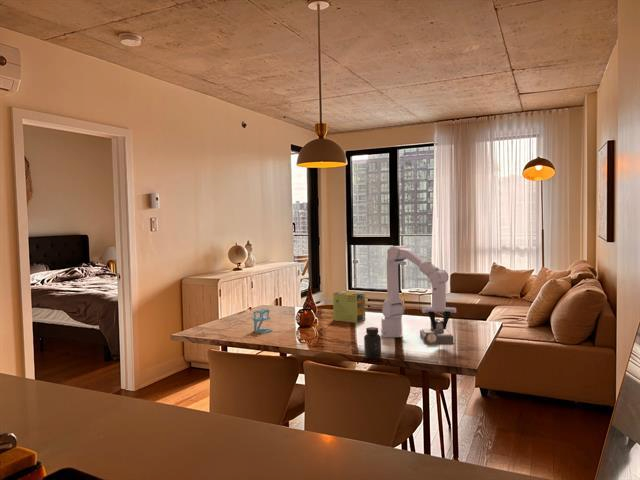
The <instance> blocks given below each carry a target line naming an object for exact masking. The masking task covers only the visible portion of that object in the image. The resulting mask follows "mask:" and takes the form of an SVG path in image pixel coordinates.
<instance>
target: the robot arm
mask: <svg viewBox="0 0 640 480" xmlns="http://www.w3.org/2000/svg"><path fill="white" fill-rule="evenodd" d="M386 251H387V253H386V255H387V257H386V283H387V284H386V287H387V288H386V289H387V294H386V295H387V297H386V298H385V300H384V301H383V304H382V309H381V312H382V315H383V316H384V317H381V330H380V334H381V335H382V336H381V337H382V338H403V334H402V320H401V319H402V317H403V314H404V313H405V306H404V304H403V299H401V298H400V289H399V281H400V280H399V265H400V264H401V263H402V262H403V261H405V260H408V261H409V262H411V263H413V264H414V265H416V266H417V267H418V269H419V271H420V272H421V273H422V274H423V275H425V276H426V277H427V278H428V279H429V282H430V285H431V290H432V291H431V292H432V294H431V296H432V297H431V298H432V300H431V301H432V302H431V303H432V304H431V305H432V306H431V307H430V306H428V307H422V308H421V312H422V313H423V314H426V313H427V315H428V317H429V319H430V323H431V322H432V327H433V329H435V319H436V315H435V313H442V316H443V317H442V321H444V329H446V330H447V325H448V322H449V319H450V318H451V316H452V315H451V313H453V314H456V313H457V308H456V307H449V306H446V305H447V304H446V303H447V297H446V296H447V293H446V292H447V291H446V289H447V287H446V286H447V285H446V283H447V282H448V281H449V273H448V272H447V271H446V270H444V269H440V268H439V267H437V266H435V265H434V264H433V263H432V261H431V260H424V259H422V258H421V257H420V256H419V255H418V254H417V253H415V252H414V251H413V248H411V247H410V246H409V245H406V244H404V245H391V246H390V247H389V248H388V249H387V250H386ZM422 313H421V314H422Z"/></svg>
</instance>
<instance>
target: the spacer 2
mask: <svg viewBox="0 0 640 480" xmlns="http://www.w3.org/2000/svg"><path fill="white" fill-rule="evenodd" d="M435 333H437V334H442V333H444V321H443V320H440V319H439V320H436V321H435Z"/></svg>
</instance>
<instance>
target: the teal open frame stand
mask: <svg viewBox="0 0 640 480" xmlns="http://www.w3.org/2000/svg"><path fill="white" fill-rule="evenodd" d="M256 313H258V314H259V316H257V315H256ZM264 314H266V316H264ZM269 315H270V309H268V308H261V309H257V310H255V311H253V316H254V317H252V321H253V333H254V332H255V333H258V334H262V335H265V334H269V333H271V332H273V328H272V329H271V328H261V326H262V324H263V322H265V321H268V320H271V317H270V316H269ZM257 324H258V325H257Z"/></svg>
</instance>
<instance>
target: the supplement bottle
mask: <svg viewBox="0 0 640 480" xmlns="http://www.w3.org/2000/svg"><path fill="white" fill-rule="evenodd" d="M365 333H366V334H365V335H364V336H363V344H364V347H363V348H364V349H363V350H364V351H363V352H364V358H365V359H367V360H378V359H381V357H382V338H381V337H382V336H381V334H379V328H378V327H374V326H372V327H367V328H365Z"/></svg>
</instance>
